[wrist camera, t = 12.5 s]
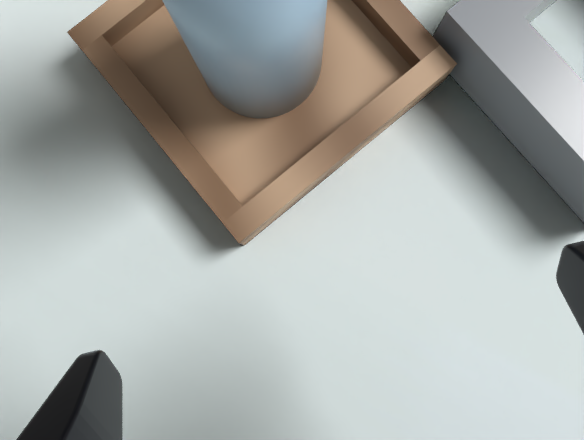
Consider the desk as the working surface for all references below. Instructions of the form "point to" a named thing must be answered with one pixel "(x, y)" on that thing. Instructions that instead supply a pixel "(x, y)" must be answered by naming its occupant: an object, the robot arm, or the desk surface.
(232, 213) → the tray
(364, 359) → the desk surface
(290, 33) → the ball
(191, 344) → the desk surface
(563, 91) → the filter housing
